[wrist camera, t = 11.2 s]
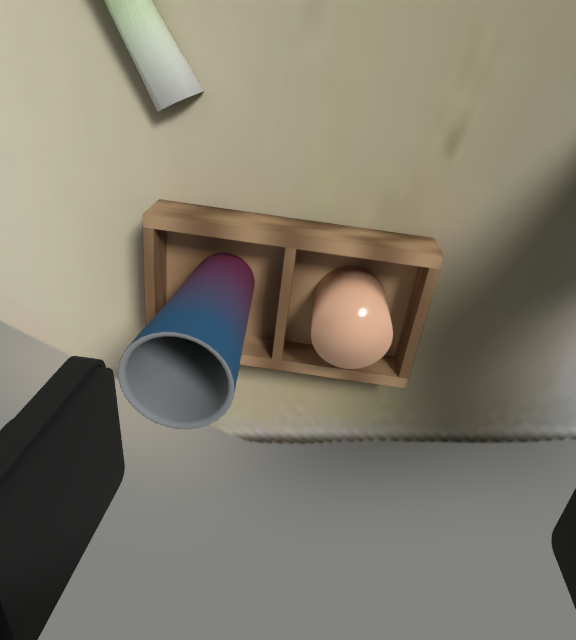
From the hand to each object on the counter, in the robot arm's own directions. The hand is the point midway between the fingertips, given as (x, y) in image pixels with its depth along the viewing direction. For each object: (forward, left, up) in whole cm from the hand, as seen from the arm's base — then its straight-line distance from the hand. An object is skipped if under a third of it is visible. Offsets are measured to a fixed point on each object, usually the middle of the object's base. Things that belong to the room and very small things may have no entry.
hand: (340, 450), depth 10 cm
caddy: (+2, +11, -31) cm, 33 cm away
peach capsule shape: (-3, +11, -30) cm, 32 cm away
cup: (+8, +11, -30) cm, 33 cm away
